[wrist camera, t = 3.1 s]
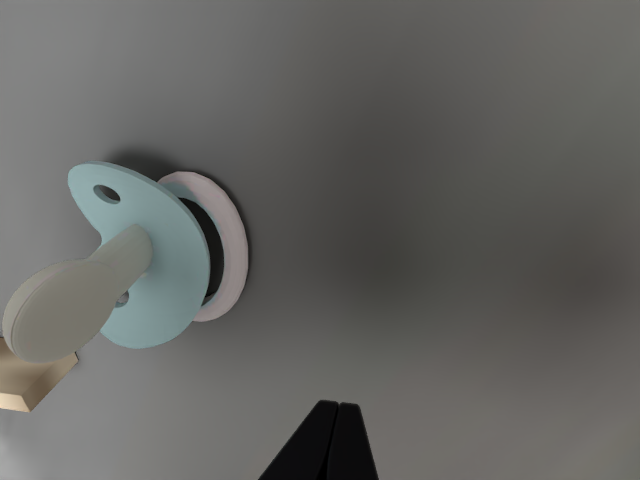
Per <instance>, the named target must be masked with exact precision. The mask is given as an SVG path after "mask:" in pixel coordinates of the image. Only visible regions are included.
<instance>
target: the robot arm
mask: <svg viewBox="0 0 640 480" xmlns="http://www.w3.org/2000/svg"><path fill="white" fill-rule="evenodd" d="M258 480H379V478H378V474H377V471H376V467H375V463H374V459H373V455H372V451H371V448H370V444H369V440H368V436H367V432H366V429H365V425H364V421H363V417H362V413H361V409H360V407H359V405H358V404H353V403H345V402H342V403H340V404H339V403H338V402H336V401H329V400H320V401H319V402H318V403H317V404H316V405H315V406H314V408H313V409H312V410H311V412H310V413H309V414H308V415H307V417H306V418H305V419H304V421H303V422H302V423H301V424H300V426H299V427H298V428H297V430H296V431H295V432H294V434H293V435H292V436H291V437H290V439H289V440H288V441H287V443H286V444H285V445H284V446H283V448H282V449H281V450H280V452H279V453H278V454H277V456H276V457H275V458H274V459H273V461H272V462H271V463H270V465H269V466H268V467H267V469H266V470H265V471H264V472H263V474H262V475H261V476H260V478H259V479H258Z"/></svg>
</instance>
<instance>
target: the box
mask: <svg viewBox="0 0 640 480" xmlns="http://www.w3.org/2000/svg"><path fill="white" fill-rule="evenodd" d="M77 362H78V359H77V357H76V354H75V352H74V353H72V354H70V355H68V356H66V357H64V358H62V359H59V360H56V361H53V362H48V363H30V362H26V361H24V360H22V359H20V358H19V357H17V356H16V355H15V354H14V353H13V352H12V351H11V350H10V349H9V347H8V346H7V343H6V341H5V339H4V338H0V408H4V409H11V410H18V411H24V412H31V411H32V410H33V409H34V408H35V407H36V406H37V405H38V403H39V402H40V401H41V400H42V399H43V398H44V397H45V396H46V395H47V394H48V393H49V392H50V391H51V390H52V389H53V388H54V387H55V385H56V384H57V383H58V382H59V381H60V380H61V379H62V378H63V377H64V376H65V375H66V374H67V373H68V372H69V371H70V370H71V369H72V367H73V366H74V365H75V364H76V363H77Z"/></svg>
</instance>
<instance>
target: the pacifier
mask: <svg viewBox="0 0 640 480" xmlns="http://www.w3.org/2000/svg"><path fill="white" fill-rule="evenodd" d="M68 185H69V188H70V191H71V193H72V196H73V198H74V200H75V202H76V203H77V205H78V207H79V208H80V210H81V211H82V213H83V214H84V216H85V217H86V218H87V219H88V220H89V222H90V223H91V224H92V226H93V227H94V228H95V229H96V230H97V231H99V233H100V234H101V237H102V243H101V245H100V246H99V247H98V249H97V250H96V251H95V252H94V253H93V254H91V255H90V256H89V257H88V258H86V259H75V260H67V261H63V262H59V263H56V264H53V265H51V266H48V267H46V268H44V269H42V270H40V271H39V272H37V273H35V274H34V275H33V276H31V277H30V278H28V279H27V280H26V281H25V282H24V283H23V284H22V285H21V286H20V287H19V288H18V289H17V290H16V292H15V293H14V294H13V296H12V297H11V299H10V301H9V303H8V304H7V306H6V309H5V312H4V316H3V323H2V329H3V336H4V339H5V341H6V343H7V346H8V347H9V349H10V350H11V351H12V352H13V353H14V354H15V355H16V356H17V357H19V358H20V359H22V360H24V361H26V362H30V363H48V362H53V361H56V360H59V359H62V358H64V357H66V356H68V355H70V354H72V353H74V352H75V351H77V350H78V349H80V348H81V347H82V346H84V345H85V344H86V343H88V342H89V341H90V340H91V339H92V338H93V337H94V336H95V335H96V334H97V333H98V332H99V331H100V332H101V333H102V334H103V335H104V336H105V337H107V338H108V339H109V340H110V341H111V342H113V343H116V344H118V345H120V346H125V347H128V348H137V349H142V348H149V347H154V346H156V345H159V344H163V343H165V342H168V341H170V340H172V339H174V338H175V337H176V336H178V335H179V334H180V333H182V332H183V331H184V330H185V329H186V328H187V326H188V325H189V324H190V323H191V322H192V321H200V322H204V321H209V320H213V319H216V318H218V317H220V316H221V315H223V314H225V313H226V312H228V311H229V310H230V309H231V307H232V306H233V305H234V304H235V303H236V302H237V300H238V298H239V296H240V294H241V292H242V290H243V288H244V286H245V281H246V276H247V271H248V244H247V239H246V234H245V229H244V225H243V223H242V221H241V218H240V216H239V214H238V211H237V209H236V207H235V206H234V204H233V203H232V201H231V200H230V198H229V197H228V196H227V194H226V193H225V191H224V190H222V189H221V188H220V187H219V186H218V185H217V184H215V183H214V182H213V181H212V180H211V179H209V178H206V177H204V176H202V175H199V174H197V173H195V172H179V171H177V172H175V173H172V174H169V175H167V176H164V177H162V178H161V179H160V180H159V181H158V182H157V183H156V182H155V181H153V180H151V179H149V178H148V177H146V176H144V175H142V174H140V173H138V172H136V171H133V170H131V169H128V168H125V167H122V166H119V165H116V164H112V163H109V162H101V161H87V162H84V163H82V164H79V165H77V166H74V167H73V168H72V169H71V170H70V171H69V174H68ZM99 185H104V186H107V187H109V188H111V189H113V190H114V191H115V192H116V193H117V194H118V195H119V196H120V199H121V200H120V201H116V200H112V199H110V198H108V197H107V196H106V195H104V194H103V193H102V191H101V190H100V188H99ZM178 198H186V199H189V200H191V201H193V202H196V203H197V204H198V205H199V206H200V207H201V208H203V209H204V210H205V211H206V212H207V214H208V215H209V216H210V218H211V219H212V221H213V222H214V224H215V226H216V228H217V231H218V233H219V235H220V238H221V242H222V246H223V251H224V271H223V277H222V281H221V284H220V286H219V289H218V290H217V291H216V292H215V293H213V294H212V295H210V296H209V297H205V294H206V291H207V288H208V284H209V278H210V255H209V250H208V246H207V242H206V239H205V236H204V233H203V231H202V229H201V227H200V226H199V224H198V222H197V220H196V219H195V217H194V216H193V214H192V213H191V212H190V210H189V209H188V208H187V207H186V206H185V205H184V204H183V203H182V202H181V201H180V200H179V199H178ZM127 290H128V293H129V300H128V302H126V303H118V302H116V301H117V300H118V299H119V298H120V297H121V296H122V295H123V294H124V293H125V292H126V291H127ZM204 297H205V298H204Z"/></svg>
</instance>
